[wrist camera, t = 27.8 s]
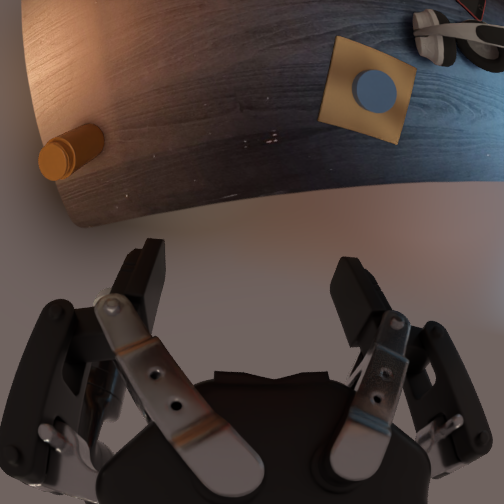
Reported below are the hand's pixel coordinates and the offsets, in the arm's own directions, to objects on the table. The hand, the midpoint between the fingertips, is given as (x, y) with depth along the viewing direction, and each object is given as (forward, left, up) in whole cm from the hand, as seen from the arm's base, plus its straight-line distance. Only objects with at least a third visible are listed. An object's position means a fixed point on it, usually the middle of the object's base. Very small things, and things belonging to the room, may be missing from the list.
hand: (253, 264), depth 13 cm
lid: (+11, -14, -24) cm, 30 cm away
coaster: (+10, -14, -26) cm, 31 cm away
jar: (-2, +22, -26) cm, 33 cm away
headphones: (+23, -24, -26) cm, 42 cm away
